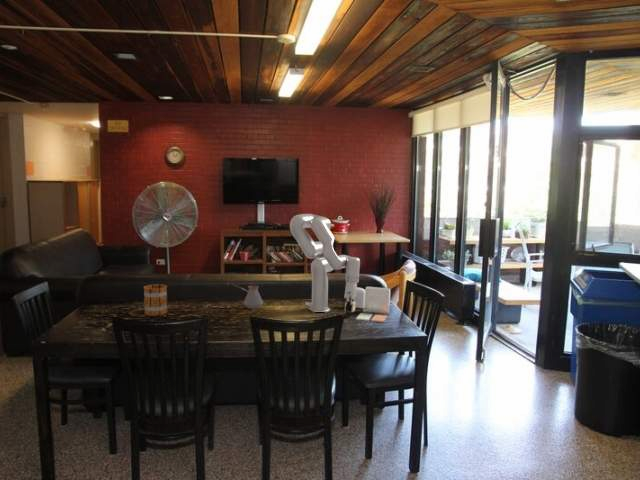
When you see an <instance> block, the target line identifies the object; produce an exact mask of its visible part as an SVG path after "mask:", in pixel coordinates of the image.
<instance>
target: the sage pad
mask: <svg viewBox="0 0 640 480" xmlns="http://www.w3.org/2000/svg"><path fill="white" fill-rule="evenodd" d="M373 315H374V314H371V313H362V312H360V313H359V314H358V315H357V317H356V318H355V320H357V321H365V322H369V320H371V319H372V318H373V317H374V316H373Z"/></svg>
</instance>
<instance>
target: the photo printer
mask: <svg viewBox="0 0 640 480" xmlns="http://www.w3.org/2000/svg"><path fill="white" fill-rule="evenodd" d="M354 301H355V302H356V304H355V309H363V310H364V309H365V289H364V288H362V287H358V286H357V292H356V297H355V298H354Z"/></svg>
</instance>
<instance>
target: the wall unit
mask: <svg viewBox="0 0 640 480" xmlns="http://www.w3.org/2000/svg"><path fill="white" fill-rule="evenodd" d="M364 290H365V308H364V309H363V310H362V311H361V313H366V314H373V315H385V316H390V315H391V314H392V311H393V310H391V309H390V308H391V307H390V306H391V288H387V287H378V286H377V287H376V286H366V287H365V289H364Z"/></svg>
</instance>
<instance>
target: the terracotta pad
mask: <svg viewBox="0 0 640 480" xmlns="http://www.w3.org/2000/svg"><path fill="white" fill-rule="evenodd" d="M373 315H374V316H372V317H371V318H370V322H372V323H384V322H385V321H386V319H387V318H388V315H380V314H373Z"/></svg>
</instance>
